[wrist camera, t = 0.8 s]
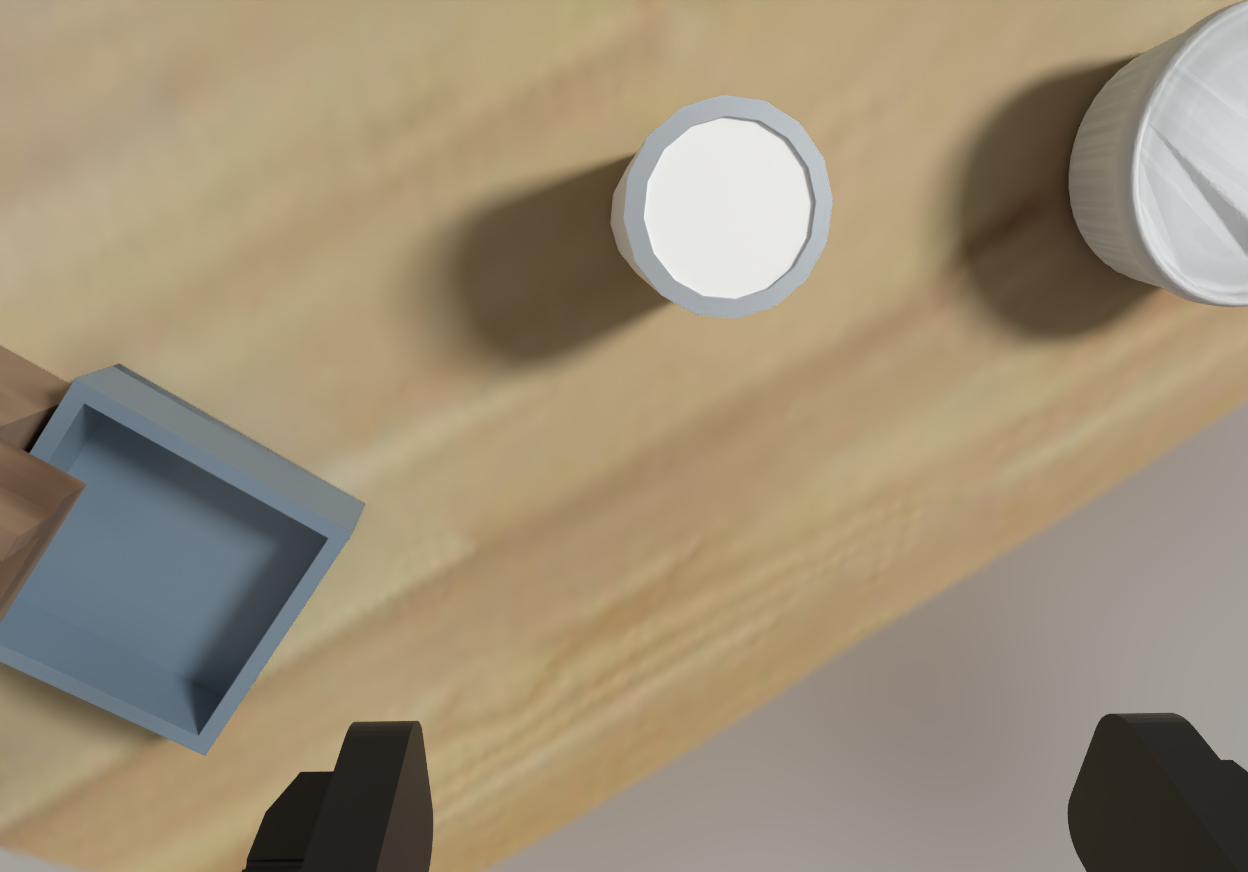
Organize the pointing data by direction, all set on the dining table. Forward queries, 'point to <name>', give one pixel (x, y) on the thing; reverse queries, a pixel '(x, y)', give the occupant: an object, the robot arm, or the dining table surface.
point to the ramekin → (1172, 164)
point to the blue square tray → (168, 559)
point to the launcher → (28, 473)
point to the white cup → (724, 207)
